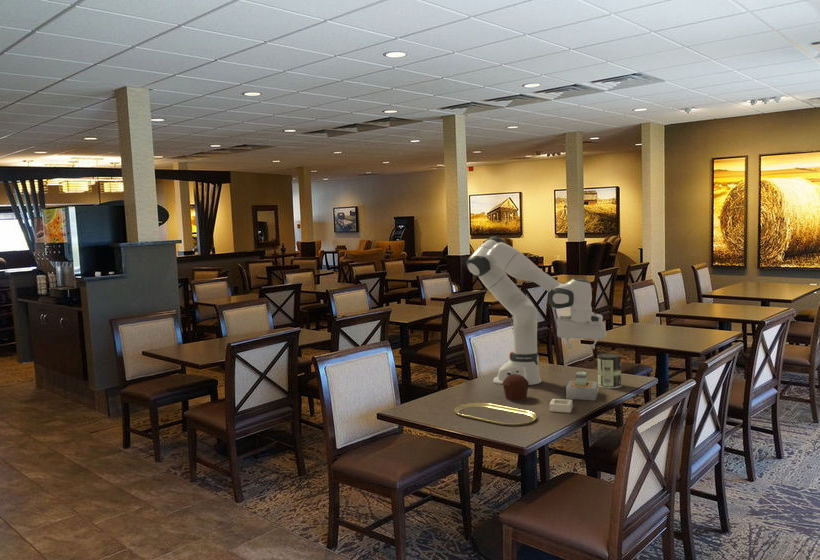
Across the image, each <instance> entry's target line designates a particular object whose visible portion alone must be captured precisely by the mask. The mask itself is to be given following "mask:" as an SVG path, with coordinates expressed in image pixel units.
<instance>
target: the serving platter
mask: <svg viewBox="0 0 820 560" xmlns="http://www.w3.org/2000/svg"><path fill="white" fill-rule="evenodd" d="M474 407H476V408H478V407H480V408H481V407H482V408H490V409H495V410H501V411H506V412H512V413H516V414H523V415H527V416H529V417H531V418H532V420H529V421H525V422H511V423H510V422H502V421H501V422H500V421H495V420H492V419H486V418H482V417H476V416H473V415H469V414H468V415H467V414H462V413H460V412H459V411H461V410H463V409H467V408H474ZM454 412H455V414H456V415H458V416H460V417H463V418H468V419H471V420H477V421H482V422H487V423H491V424H497V425H501V426H511V427H513V426H514V427H516V426H525V425H528V424H531V423H534V422H535V421H536V420H537V418H538V416H537V414H536V413H535V412H532V411H530V410H526V409H521V408H520V409H519V408H515V407H510V406H504V405H499V404H494V403H488V402H471V403H470V402H469V403H463V404H460V405H458V406H456V407H455V408H454Z"/></svg>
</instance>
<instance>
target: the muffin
mask: <svg viewBox="0 0 820 560" xmlns="http://www.w3.org/2000/svg"><path fill="white" fill-rule="evenodd" d="M528 384H529V382H528V381H527V380H526V378H525V377H523V376H521V375H518V374H512V375H509V376H508V377H506V378H505V380H504V381H503V383H502V384H501V385H502V386H503V392H504V396H505V399H506V400H508V401H513V402H514V401H524V400H525V399H527V396H528V388H529V385H528Z"/></svg>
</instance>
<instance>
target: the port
mask: <svg viewBox="0 0 820 560" xmlns="http://www.w3.org/2000/svg"><path fill="white" fill-rule="evenodd" d="M565 391H566V392H565V394H566V395H565V399H567V400H582V401H596V400H597V398H598V394H599V386H598V381H588V380H587V386H585V385H576V380H569V381H568V382H567V385H566V387H565Z"/></svg>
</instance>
